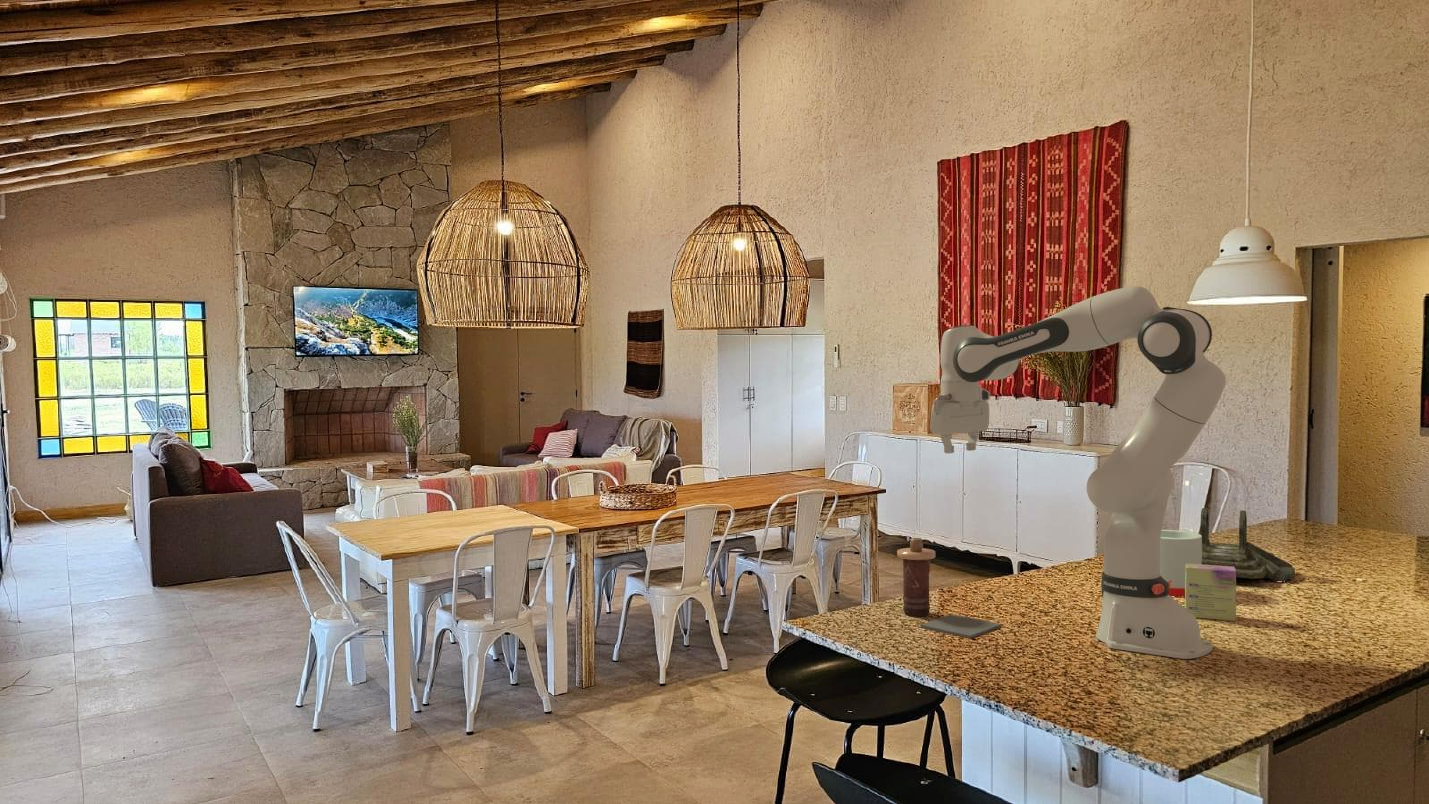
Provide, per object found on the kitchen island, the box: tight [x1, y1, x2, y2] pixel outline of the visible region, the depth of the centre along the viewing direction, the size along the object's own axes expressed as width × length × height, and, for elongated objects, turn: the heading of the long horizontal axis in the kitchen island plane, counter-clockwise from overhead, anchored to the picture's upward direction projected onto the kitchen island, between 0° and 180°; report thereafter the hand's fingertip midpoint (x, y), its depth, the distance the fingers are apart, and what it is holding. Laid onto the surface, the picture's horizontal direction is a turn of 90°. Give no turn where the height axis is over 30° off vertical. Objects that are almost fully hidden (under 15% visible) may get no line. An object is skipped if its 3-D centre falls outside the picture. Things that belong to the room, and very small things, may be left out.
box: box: [1184, 563, 1237, 622], centre depth 221 cm, size 10×6×12 cm, turn 65°
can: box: [902, 558, 931, 618], centre depth 228 cm, size 6×6×14 cm
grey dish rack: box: [1199, 507, 1296, 582], centre depth 268 cm, size 35×34×18 cm
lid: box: [896, 537, 936, 560], centre depth 228 cm, size 9×9×4 cm
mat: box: [919, 613, 1002, 639], centre depth 216 cm, size 13×13×1 cm
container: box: [1160, 529, 1202, 598], centre depth 248 cm, size 16×16×15 cm
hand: (960, 451), depth 226 cm, fingers open, 8 cm apart
